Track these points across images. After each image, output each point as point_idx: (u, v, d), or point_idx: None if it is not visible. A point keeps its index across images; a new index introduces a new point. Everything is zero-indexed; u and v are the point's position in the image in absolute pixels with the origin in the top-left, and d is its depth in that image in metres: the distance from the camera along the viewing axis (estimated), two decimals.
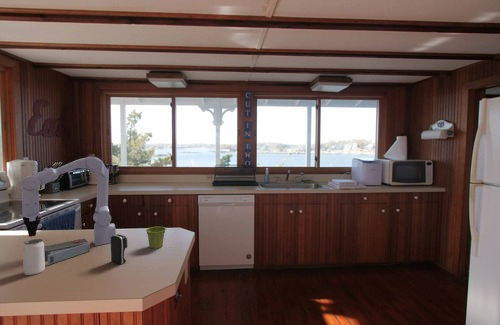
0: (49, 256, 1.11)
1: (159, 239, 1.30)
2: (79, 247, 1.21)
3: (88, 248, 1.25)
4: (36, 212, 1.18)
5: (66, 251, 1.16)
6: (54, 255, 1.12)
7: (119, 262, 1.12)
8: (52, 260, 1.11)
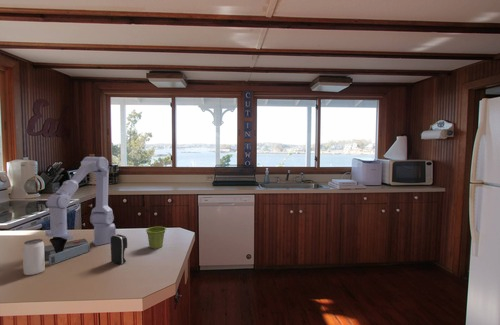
0: (50, 256, 1.10)
1: (159, 239, 1.30)
2: (79, 247, 1.21)
3: (88, 248, 1.25)
4: (66, 231, 1.15)
5: (67, 251, 1.16)
6: (55, 255, 1.12)
7: (119, 262, 1.12)
8: (53, 260, 1.11)
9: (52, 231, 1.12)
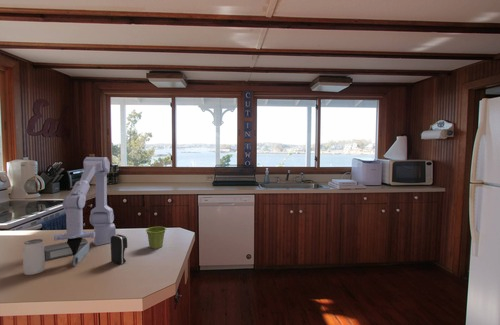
0: (75, 257, 1.09)
1: (159, 239, 1.30)
2: (86, 247, 1.21)
3: (89, 248, 1.25)
4: None
5: (81, 252, 1.16)
6: (77, 256, 1.11)
7: (119, 262, 1.12)
8: (77, 261, 1.10)
9: (73, 232, 1.10)
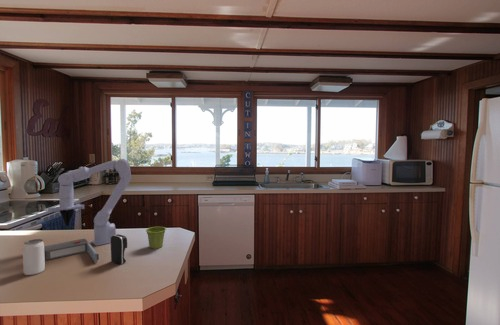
0: (96, 254, 1.13)
1: (159, 239, 1.30)
2: None
3: None
4: None
5: None
6: None
7: (119, 262, 1.12)
8: None
9: (68, 204, 1.29)
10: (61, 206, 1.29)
